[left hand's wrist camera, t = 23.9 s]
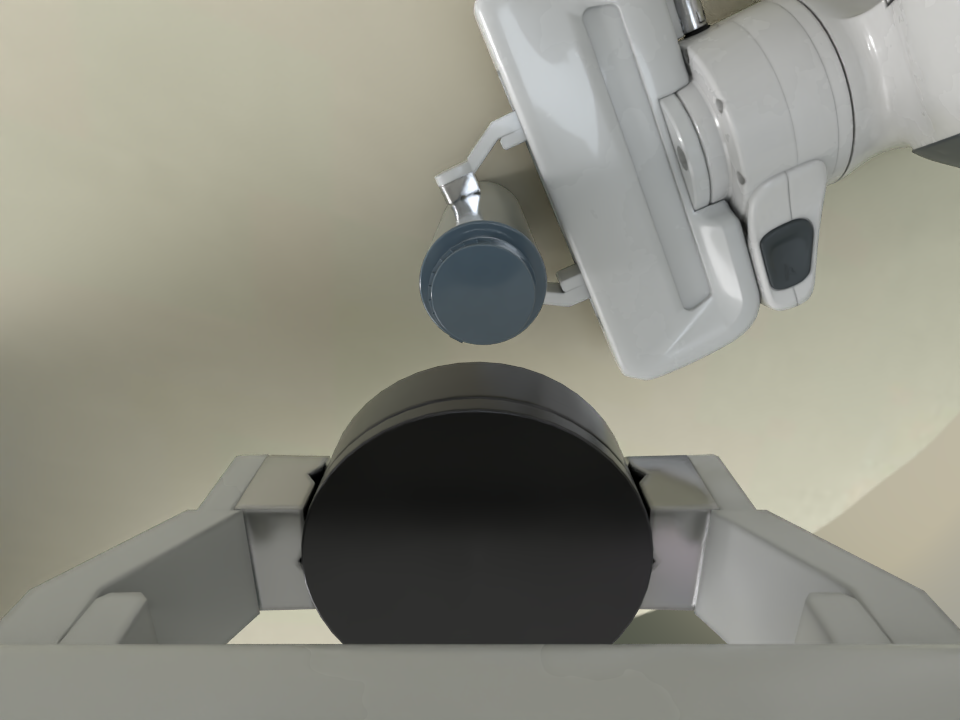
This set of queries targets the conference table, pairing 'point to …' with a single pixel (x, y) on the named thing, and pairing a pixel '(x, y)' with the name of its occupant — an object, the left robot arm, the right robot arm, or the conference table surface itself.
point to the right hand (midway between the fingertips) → (467, 246)
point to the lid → (477, 516)
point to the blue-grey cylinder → (483, 269)
